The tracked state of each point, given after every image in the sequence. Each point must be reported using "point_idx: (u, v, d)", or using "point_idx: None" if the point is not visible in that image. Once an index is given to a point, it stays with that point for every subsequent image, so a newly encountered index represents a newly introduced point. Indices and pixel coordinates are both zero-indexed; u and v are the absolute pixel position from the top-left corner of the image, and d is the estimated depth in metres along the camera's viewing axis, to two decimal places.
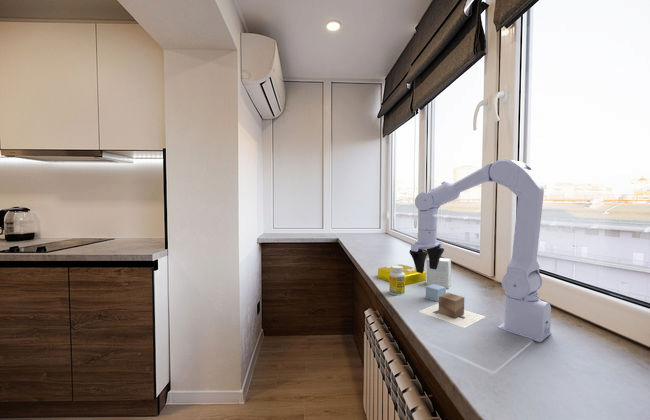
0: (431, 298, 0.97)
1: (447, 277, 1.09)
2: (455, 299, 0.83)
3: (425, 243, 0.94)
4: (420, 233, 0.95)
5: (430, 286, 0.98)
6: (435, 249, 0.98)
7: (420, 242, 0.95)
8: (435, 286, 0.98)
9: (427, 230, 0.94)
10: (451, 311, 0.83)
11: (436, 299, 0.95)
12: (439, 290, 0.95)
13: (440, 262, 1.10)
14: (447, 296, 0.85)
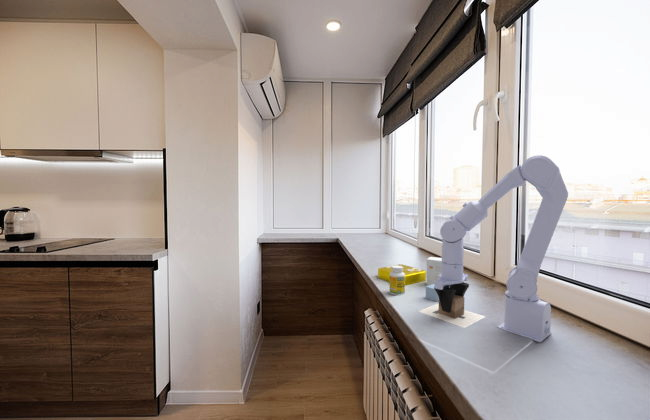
0: (431, 298, 0.97)
1: None
2: (455, 299, 0.83)
3: (450, 279, 0.82)
4: (444, 266, 0.84)
5: (430, 286, 0.98)
6: (459, 285, 0.86)
7: (444, 277, 0.84)
8: None
9: (453, 264, 0.82)
10: (451, 311, 0.83)
11: (436, 299, 0.95)
12: None
13: (440, 262, 1.10)
14: None
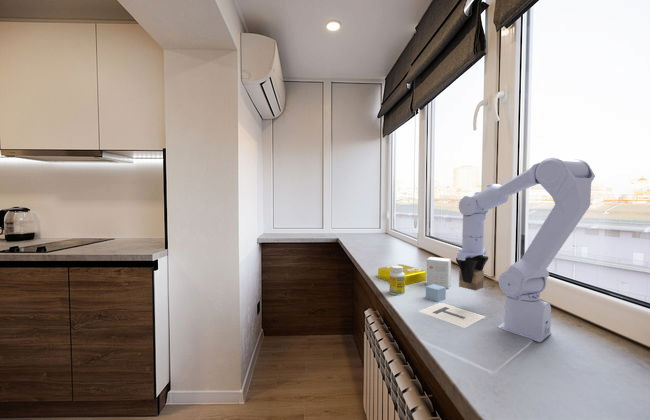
0: (431, 298, 0.97)
1: (447, 277, 1.09)
2: (475, 272, 0.87)
3: (472, 251, 0.87)
4: (465, 240, 0.88)
5: (430, 286, 0.98)
6: (478, 257, 0.90)
7: (466, 250, 0.88)
8: (435, 286, 0.98)
9: (474, 237, 0.86)
10: (471, 284, 0.87)
11: (436, 299, 0.95)
12: (439, 290, 0.95)
13: (440, 262, 1.10)
14: None
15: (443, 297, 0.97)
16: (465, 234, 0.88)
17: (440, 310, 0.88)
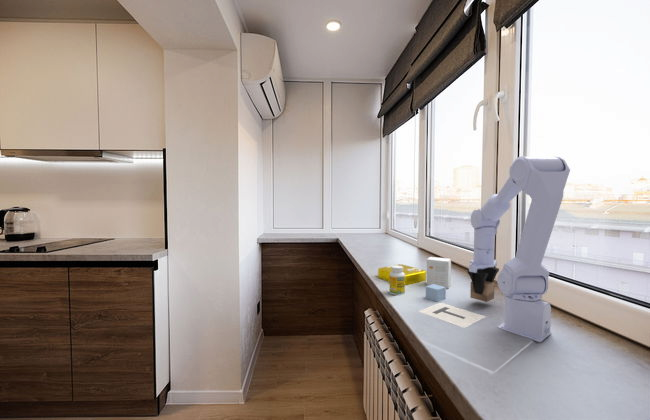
0: (431, 298, 0.97)
1: (447, 277, 1.09)
2: (486, 284, 0.90)
3: (483, 263, 0.90)
4: (476, 252, 0.91)
5: (430, 286, 0.98)
6: (489, 269, 0.93)
7: (477, 262, 0.91)
8: (435, 286, 0.98)
9: (485, 250, 0.90)
10: (482, 296, 0.90)
11: (436, 299, 0.95)
12: (439, 290, 0.95)
13: (440, 262, 1.10)
14: None
15: (443, 297, 0.97)
16: (474, 246, 0.92)
17: (440, 310, 0.88)
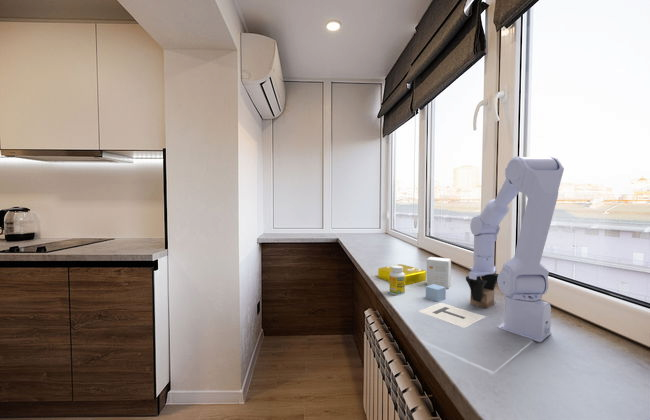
0: (431, 298, 0.97)
1: (447, 277, 1.09)
2: (486, 292, 0.90)
3: (483, 270, 0.90)
4: (476, 259, 0.91)
5: (430, 286, 0.98)
6: (491, 275, 0.94)
7: (477, 269, 0.91)
8: (435, 286, 0.98)
9: (485, 257, 0.90)
10: (482, 304, 0.90)
11: (436, 299, 0.95)
12: (439, 290, 0.95)
13: (440, 262, 1.10)
14: None
15: (443, 297, 0.97)
16: (474, 253, 0.92)
17: (440, 310, 0.88)
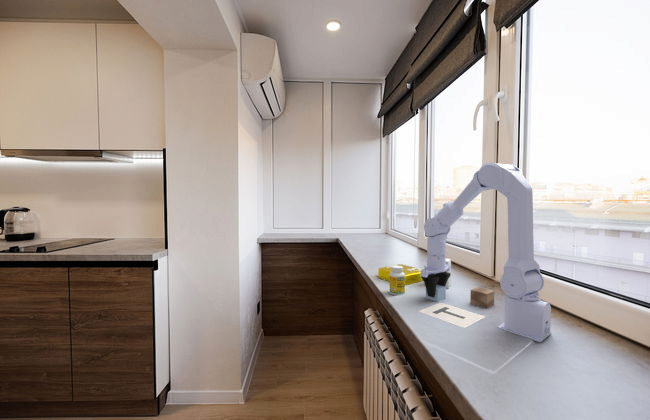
0: (431, 298, 0.97)
1: None
2: (486, 292, 0.90)
3: (434, 268, 0.95)
4: (429, 258, 0.97)
5: None
6: (442, 274, 0.99)
7: (429, 267, 0.96)
8: None
9: (436, 256, 0.95)
10: (482, 304, 0.90)
11: (436, 299, 0.95)
12: (439, 290, 0.95)
13: None
14: (478, 290, 0.93)
15: (443, 297, 0.97)
16: (430, 253, 0.96)
17: (440, 310, 0.88)
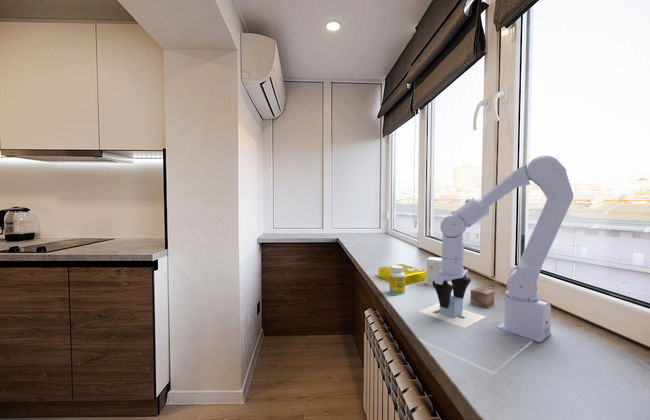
0: (446, 311, 0.84)
1: None
2: (486, 292, 0.90)
3: (451, 274, 0.82)
4: (444, 262, 0.84)
5: None
6: (461, 279, 0.87)
7: (444, 272, 0.84)
8: (451, 297, 0.86)
9: (453, 259, 0.82)
10: (482, 304, 0.90)
11: (452, 313, 0.83)
12: (456, 302, 0.83)
13: (440, 262, 1.10)
14: (478, 290, 0.93)
15: (460, 310, 0.84)
16: (449, 257, 0.82)
17: None
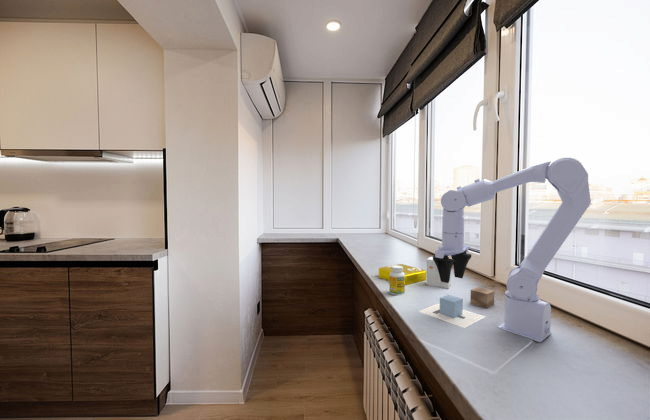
0: (446, 311, 0.84)
1: None
2: (486, 292, 0.90)
3: (451, 248, 0.82)
4: (444, 236, 0.83)
5: (445, 297, 0.86)
6: (461, 255, 0.86)
7: (445, 247, 0.83)
8: (451, 297, 0.86)
9: (453, 234, 0.82)
10: (482, 304, 0.90)
11: (452, 313, 0.83)
12: (456, 302, 0.83)
13: None
14: (478, 290, 0.93)
15: (460, 310, 0.84)
16: (450, 231, 0.82)
17: None
